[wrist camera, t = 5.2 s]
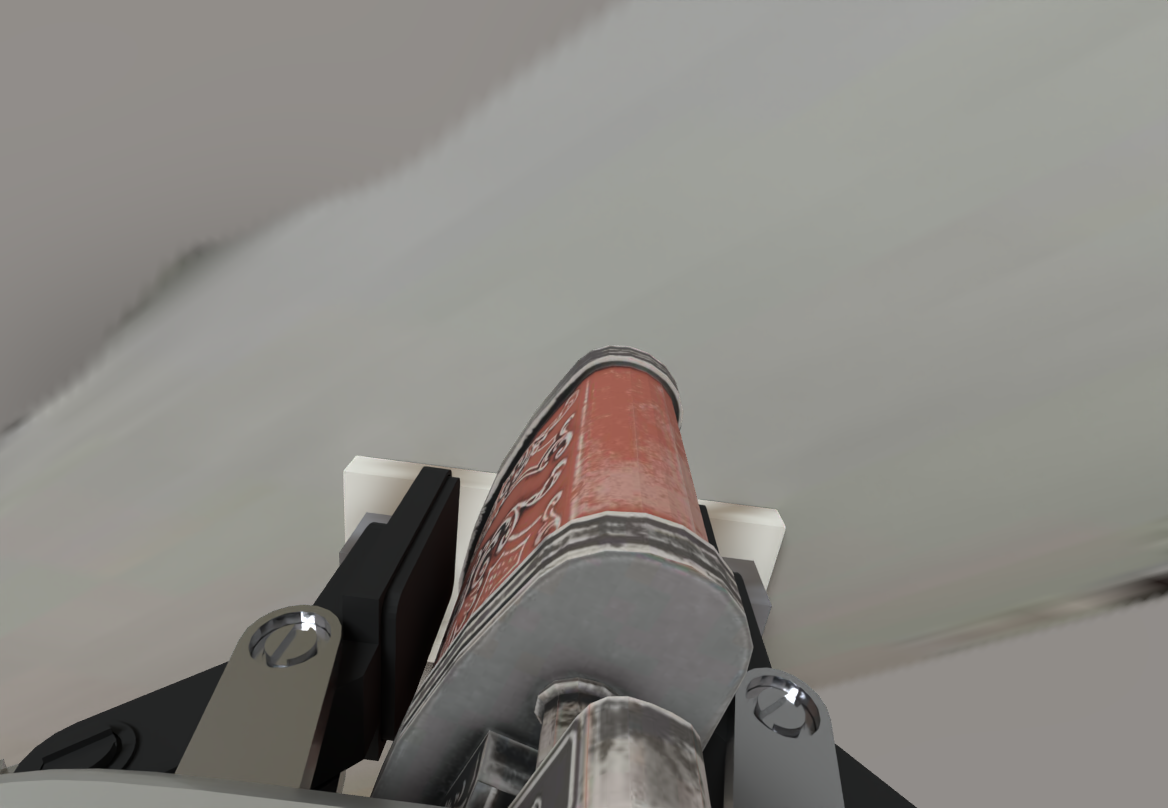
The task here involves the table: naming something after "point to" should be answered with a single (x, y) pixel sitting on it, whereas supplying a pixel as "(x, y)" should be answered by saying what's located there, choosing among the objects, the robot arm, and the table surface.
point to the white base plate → (383, 483)
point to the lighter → (582, 617)
